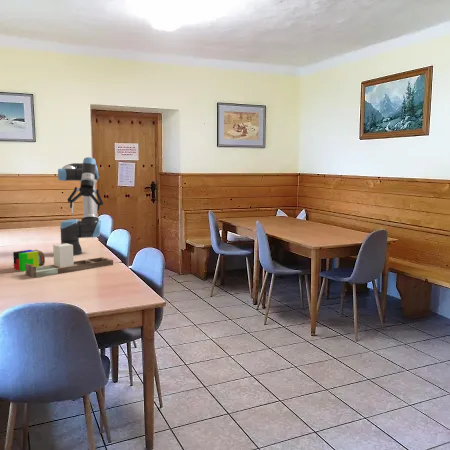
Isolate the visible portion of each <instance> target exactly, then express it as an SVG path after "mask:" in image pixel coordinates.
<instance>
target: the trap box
mask: <svg viewBox="0 0 450 450" xmlns="http://www.w3.org/2000/svg"><path fill="white" fill-rule="evenodd" d="M113 265H114V259H112V258H107V257H104V256H103V257H101V256H100V257H96V258H88V259H83V260H76V261H74V266H67V267H61V268H60V267H57V266H54V264H50V265H44V266H43V265H41V266H39V267H35V266H32V265H30V264H25V270H26V271H25V275H26V276H29V277H31V278H33V279H37V278H43V277H49V276H55V275H61V274H66V273H73V272H77V271H85V270H90V269H95V268H96V269H97V268H103V267H107V266H113Z"/></svg>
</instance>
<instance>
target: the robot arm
mask: <svg viewBox="0 0 450 450" xmlns="http://www.w3.org/2000/svg"><path fill="white" fill-rule="evenodd" d="M57 174H58V175H57V179H58V181H61V182H62V181H63V182H65V181H67V182H69V181H73V182H74V181H79V183H80V187H77V186H75V187H74V190H73V191H72V192H71V193H70V195H69V197H68V198H67V202H68V203H70V204H69V208H70V209H71V211H70V212H71V215H74V207H75V202H76V201H77V200H78V199H80V198H81V197H82V206H83V207H82V208H83V209H82V211H83V212H82V213H83V216H82V217H81V220H79V219H78V218H72V219H65V220H62V221H61V222H60V244H64V243H67V244H71V245H73V256H75V255H81V254H82V253H83V249H82V246H81V244H80V239H84V238H85V239H86V238H87V239H88V238H89V239H90V238H91V239H93V238H98V237H100V235H101V226H102V225H101V224H102V220H100V217H98V211H100V206H103V204H104V202H103V200H102V198H101V195H100V193H99V189H98V188H97V189H96V184H97V183H98V180H99V179H100V176H99V169H98V166H97V162H96V159H95V158H94V157H90V156H88V157H84V158H83V159H82V163H77V162H74V163H69V164H65V165H63V166H62V167H61V168H58V169H57ZM78 192H79V193H78ZM76 193H78V194H77V195H76Z"/></svg>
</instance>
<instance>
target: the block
mask: <svg viewBox="0 0 450 450" xmlns="http://www.w3.org/2000/svg"><path fill="white" fill-rule="evenodd" d="M52 247H53V248H52V249H53V265H54V266H57V267H60V268H61V267H67V266H74V262H75V261H74V255H73V245H71V244H67V243H64V244H61V243H59V244H53V245H52Z"/></svg>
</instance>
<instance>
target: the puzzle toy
mask: <svg viewBox="0 0 450 450" xmlns="http://www.w3.org/2000/svg"><path fill="white" fill-rule="evenodd" d="M33 250H34V249H33ZM33 250H32V249H27V250H19V251H18V250H17V251H13V252H12V255H13V270H17V271H20V272H26V270H25V264H30V265H32V266H35V267H40V265H39V256H38V252H37V251H33Z"/></svg>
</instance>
